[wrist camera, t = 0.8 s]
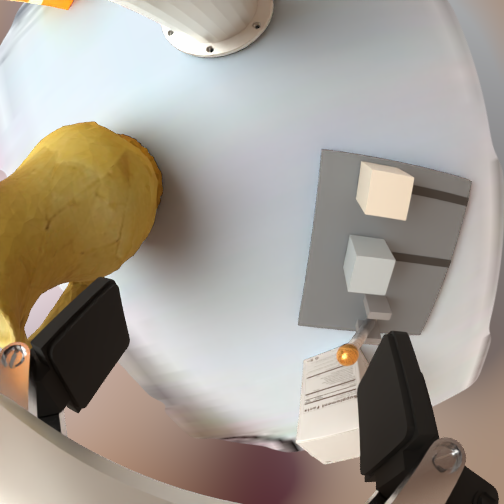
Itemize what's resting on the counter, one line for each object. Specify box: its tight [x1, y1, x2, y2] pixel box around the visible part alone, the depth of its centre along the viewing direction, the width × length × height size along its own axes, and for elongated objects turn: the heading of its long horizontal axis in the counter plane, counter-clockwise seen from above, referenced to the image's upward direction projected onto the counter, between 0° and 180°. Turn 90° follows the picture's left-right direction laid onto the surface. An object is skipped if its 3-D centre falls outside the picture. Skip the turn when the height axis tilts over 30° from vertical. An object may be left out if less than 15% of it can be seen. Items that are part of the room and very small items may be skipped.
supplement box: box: [296, 343, 369, 464], centre depth 34 cm, size 9×9×15 cm
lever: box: [336, 318, 377, 366], centre depth 29 cm, size 2×2×9 cm
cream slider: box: [356, 161, 414, 221], centre depth 24 cm, size 4×4×5 cm
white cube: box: [343, 235, 396, 295], centre depth 28 cm, size 4×4×5 cm
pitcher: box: [0, 122, 163, 349], centre depth 23 cm, size 17×19×25 cm
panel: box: [298, 149, 472, 345], centre depth 29 cm, size 22×18×5 cm
